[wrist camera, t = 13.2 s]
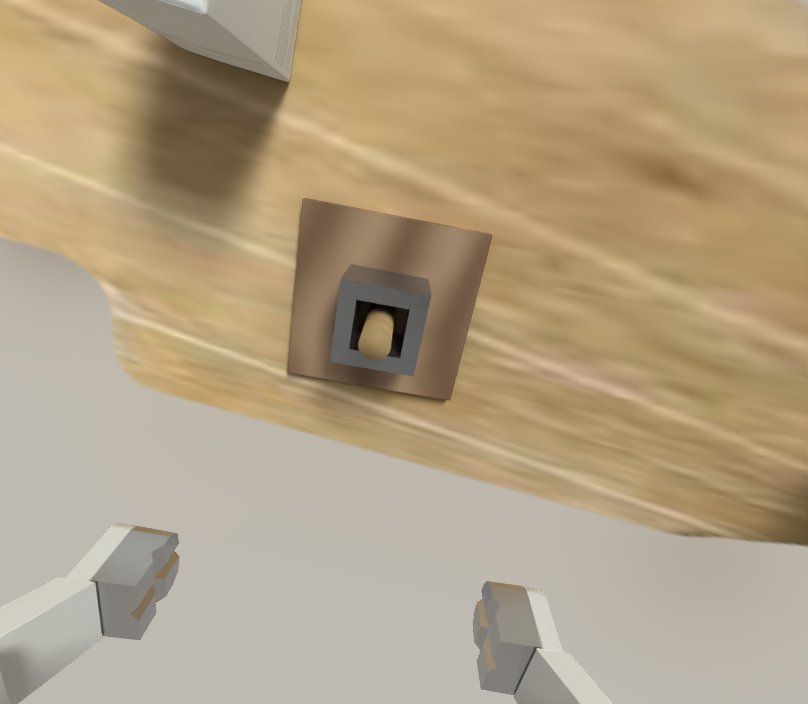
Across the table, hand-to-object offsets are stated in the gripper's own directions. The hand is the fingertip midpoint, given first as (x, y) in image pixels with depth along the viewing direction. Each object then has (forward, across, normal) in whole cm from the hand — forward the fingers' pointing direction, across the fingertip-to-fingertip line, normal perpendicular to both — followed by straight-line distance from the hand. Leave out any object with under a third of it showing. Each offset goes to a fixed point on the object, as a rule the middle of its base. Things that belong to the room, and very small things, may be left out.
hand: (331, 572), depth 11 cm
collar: (+24, 0, 0) cm, 24 cm away
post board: (+25, 0, 0) cm, 25 cm away
